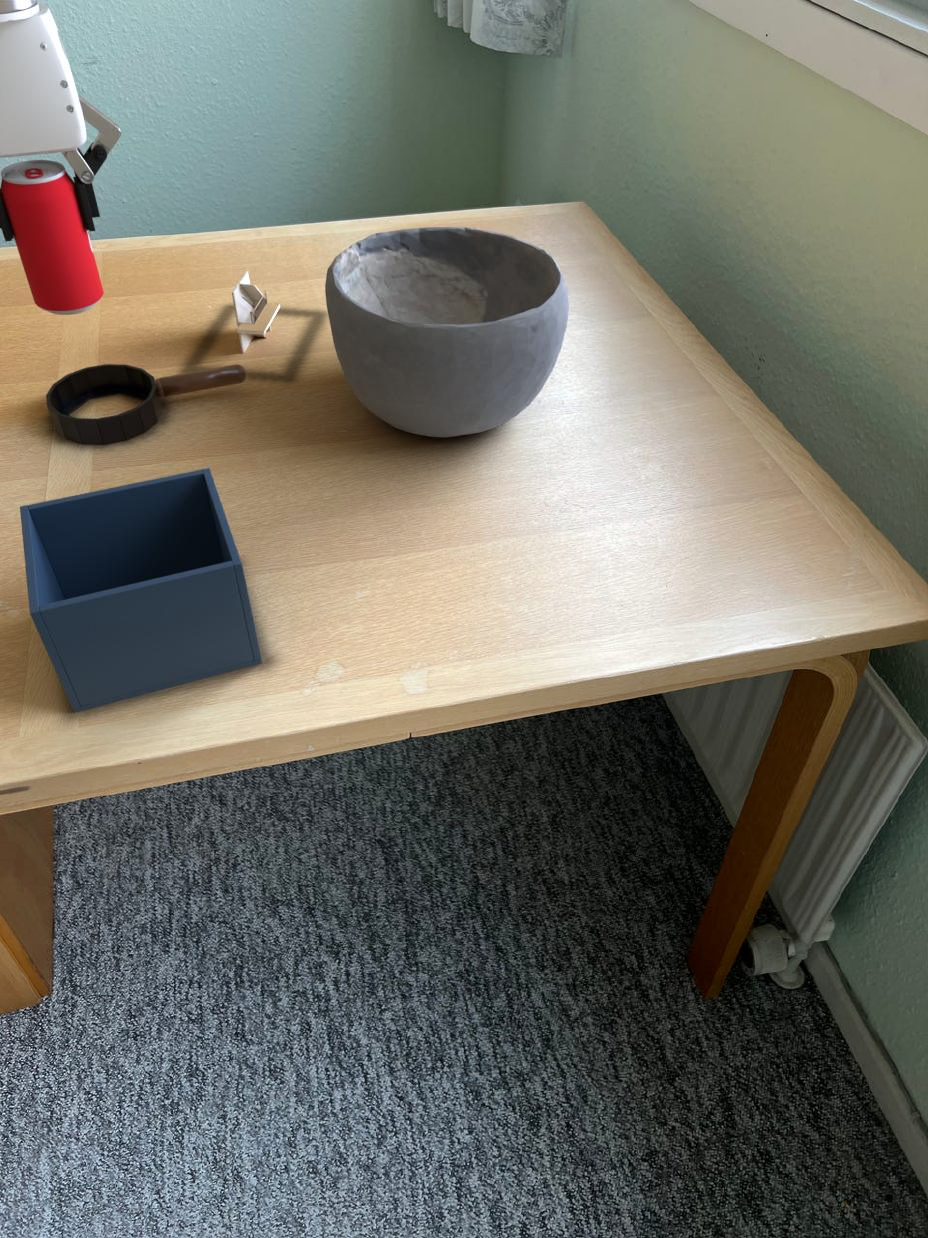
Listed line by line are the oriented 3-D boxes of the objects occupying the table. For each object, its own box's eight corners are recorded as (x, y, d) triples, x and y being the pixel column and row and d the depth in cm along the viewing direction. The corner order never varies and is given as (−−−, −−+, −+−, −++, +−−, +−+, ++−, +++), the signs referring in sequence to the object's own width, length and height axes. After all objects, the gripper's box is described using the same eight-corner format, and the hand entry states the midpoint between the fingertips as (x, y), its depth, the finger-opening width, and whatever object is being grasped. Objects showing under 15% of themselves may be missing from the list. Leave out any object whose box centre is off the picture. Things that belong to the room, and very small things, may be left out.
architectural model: (284, 332, 110) (276, 271, 105) (268, 361, 105) (259, 299, 100) (256, 330, 110) (246, 269, 105) (238, 359, 105) (228, 297, 100)
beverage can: (98, 285, 90) (65, 153, 82) (111, 311, 86) (77, 176, 78) (31, 296, 88) (-11, 162, 80) (41, 324, 84) (-2, 186, 76)
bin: (74, 714, 69) (29, 613, 61) (60, 606, 77) (19, 506, 69) (262, 664, 73) (242, 563, 65) (231, 566, 80) (209, 467, 73)
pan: (59, 454, 92) (49, 427, 89) (51, 399, 99) (42, 372, 96) (261, 415, 97) (256, 389, 95) (239, 366, 104) (235, 340, 102)
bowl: (385, 332, 110) (380, 203, 100) (583, 370, 105) (599, 239, 94) (291, 441, 94) (272, 302, 83) (519, 494, 89) (530, 352, 78)
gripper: (95, -25, 75) (143, 204, 87) (-143, -15, 70) (-56, 226, 82) (105, -6, 70) (155, 234, 82) (-150, 7, 65) (-56, 260, 77)
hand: (49, 228), depth 82 cm, fingers closed on beverage can, 6 cm apart
